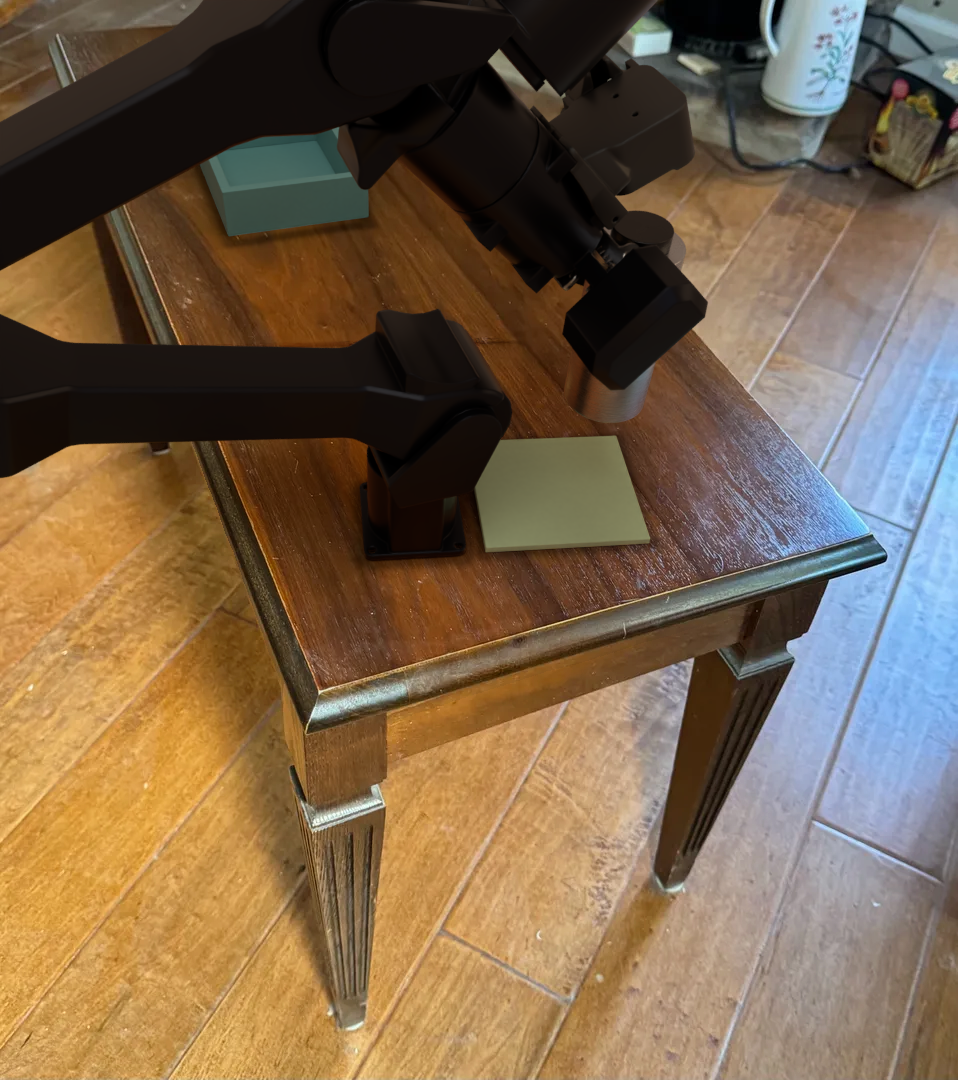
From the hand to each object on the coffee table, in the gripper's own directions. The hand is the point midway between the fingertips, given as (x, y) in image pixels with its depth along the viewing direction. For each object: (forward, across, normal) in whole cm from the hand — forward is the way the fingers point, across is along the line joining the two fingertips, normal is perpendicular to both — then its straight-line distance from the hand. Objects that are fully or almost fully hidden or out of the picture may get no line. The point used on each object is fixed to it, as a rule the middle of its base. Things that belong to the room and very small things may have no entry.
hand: (641, 315), depth 56 cm
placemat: (+7, -1, +12) cm, 14 cm away
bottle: (+3, 0, +5) cm, 6 cm away
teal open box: (+1, +43, +18) cm, 47 cm away
